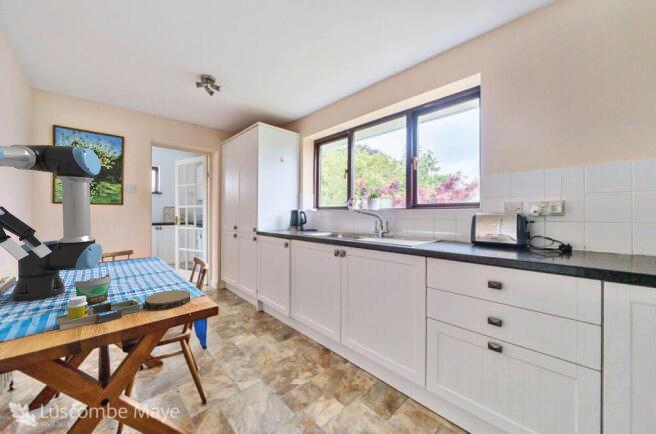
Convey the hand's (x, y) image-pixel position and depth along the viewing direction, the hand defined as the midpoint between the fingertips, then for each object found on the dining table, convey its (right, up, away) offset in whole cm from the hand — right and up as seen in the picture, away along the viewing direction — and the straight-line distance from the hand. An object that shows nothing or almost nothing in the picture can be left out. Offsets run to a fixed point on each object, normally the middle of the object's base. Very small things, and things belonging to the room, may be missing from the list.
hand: (34, 256), depth 77 cm
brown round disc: (+25, -24, +26) cm, 43 cm away
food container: (-3, -23, +24) cm, 33 cm away
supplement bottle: (+7, -23, +6) cm, 25 cm away
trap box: (+11, -23, +11) cm, 28 cm away
